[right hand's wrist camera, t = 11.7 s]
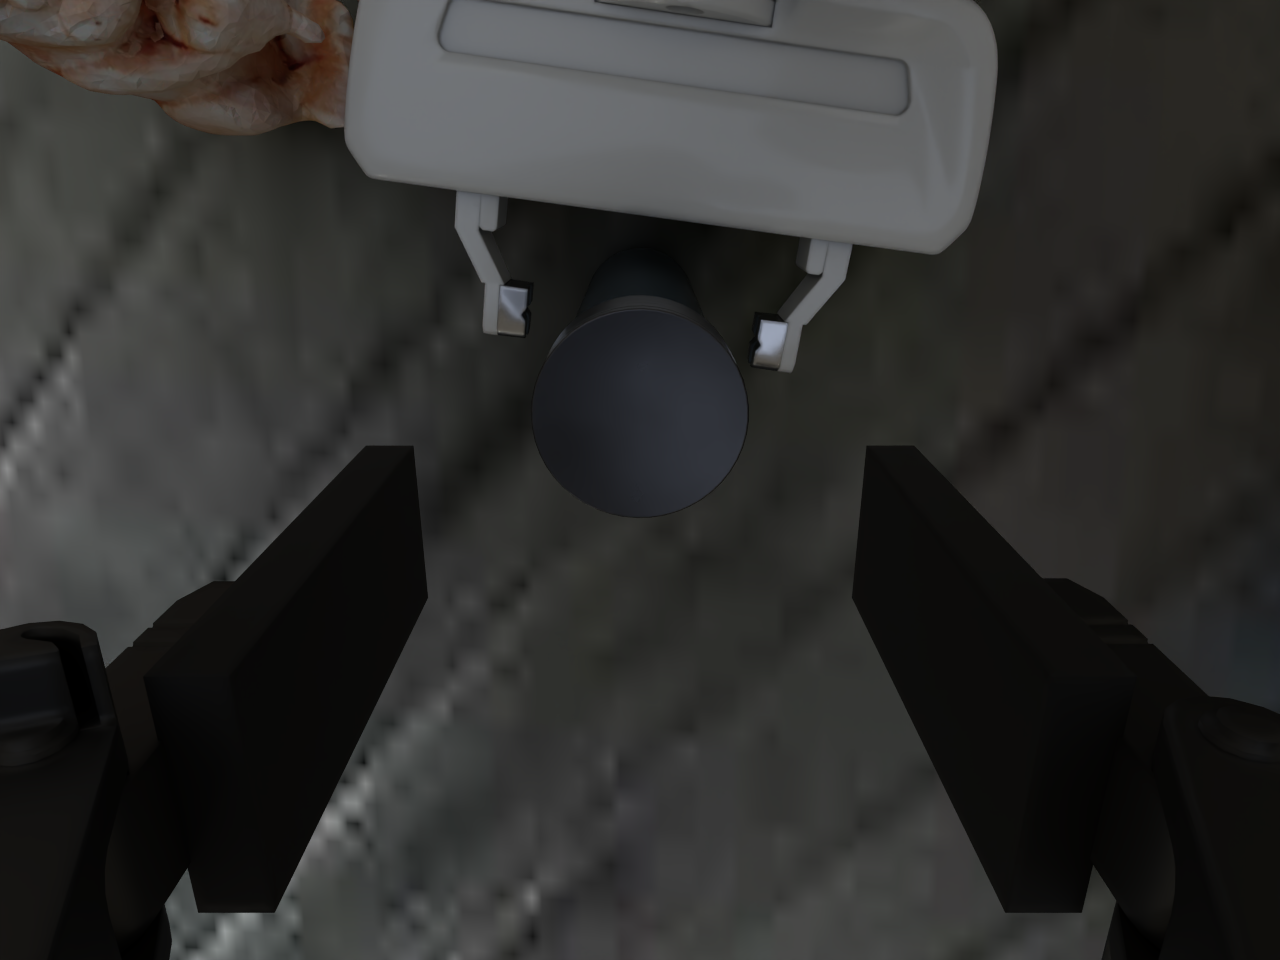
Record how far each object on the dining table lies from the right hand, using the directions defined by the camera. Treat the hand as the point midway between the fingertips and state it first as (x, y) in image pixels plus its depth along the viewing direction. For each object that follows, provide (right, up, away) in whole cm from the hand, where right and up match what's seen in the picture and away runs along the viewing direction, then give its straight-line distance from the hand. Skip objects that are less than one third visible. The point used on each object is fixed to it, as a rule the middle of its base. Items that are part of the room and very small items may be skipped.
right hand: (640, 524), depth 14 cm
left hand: (0, +5, +17) cm, 17 cm away
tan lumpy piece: (-14, +17, +19) cm, 29 cm away
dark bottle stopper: (0, +2, +6) cm, 7 cm away
